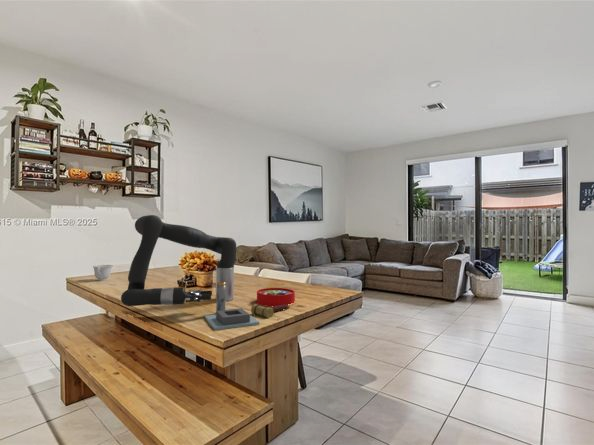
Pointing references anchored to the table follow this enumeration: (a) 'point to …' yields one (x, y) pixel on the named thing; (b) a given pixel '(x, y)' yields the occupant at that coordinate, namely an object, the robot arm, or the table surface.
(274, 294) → the toy clock
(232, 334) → the table surface
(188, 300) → the robot arm
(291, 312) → the table surface
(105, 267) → the teacup
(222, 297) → the chrome cylinder
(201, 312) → the table surface
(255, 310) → the gavel
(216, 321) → the dock
